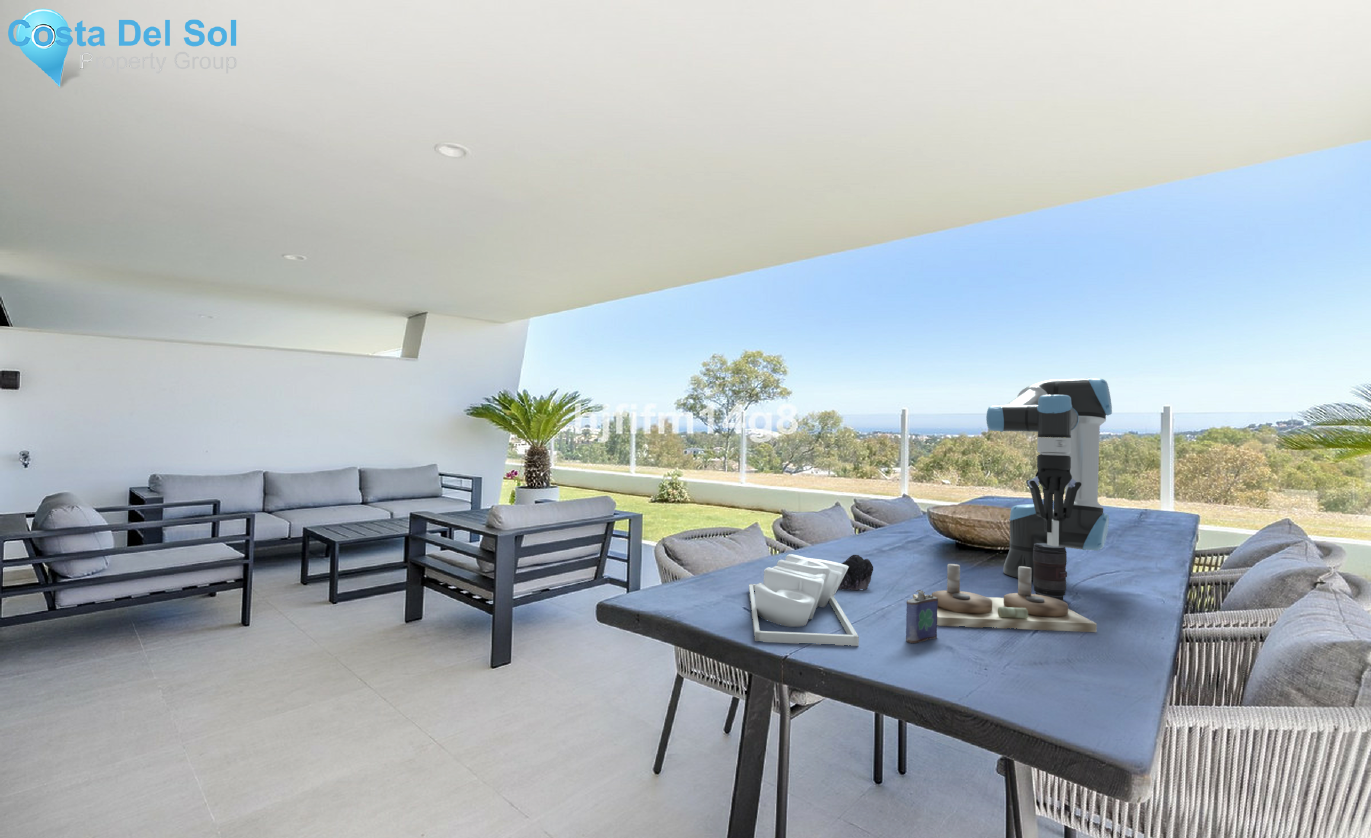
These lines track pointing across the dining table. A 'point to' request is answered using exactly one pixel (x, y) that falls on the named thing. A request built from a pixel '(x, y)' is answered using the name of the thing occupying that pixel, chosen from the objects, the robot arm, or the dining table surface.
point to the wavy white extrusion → (797, 589)
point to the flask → (921, 618)
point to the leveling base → (1014, 619)
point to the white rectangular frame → (806, 637)
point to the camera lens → (1049, 570)
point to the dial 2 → (1033, 598)
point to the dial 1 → (960, 595)
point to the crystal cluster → (857, 573)
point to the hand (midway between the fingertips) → (1052, 545)
